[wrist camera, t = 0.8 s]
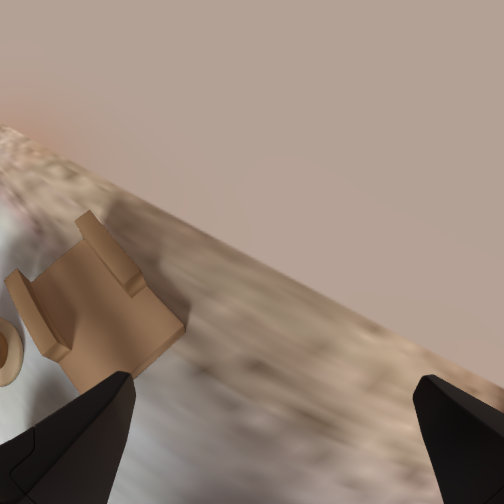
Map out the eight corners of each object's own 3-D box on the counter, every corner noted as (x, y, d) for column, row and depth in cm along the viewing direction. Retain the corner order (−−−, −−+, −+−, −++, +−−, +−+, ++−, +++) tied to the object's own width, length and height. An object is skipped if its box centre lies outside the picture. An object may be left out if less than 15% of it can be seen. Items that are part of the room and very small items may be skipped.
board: (100, 409, 17) (76, 406, 13) (30, 303, 20) (3, 280, 16) (185, 332, 21) (181, 313, 17) (103, 241, 24) (89, 209, 20)
